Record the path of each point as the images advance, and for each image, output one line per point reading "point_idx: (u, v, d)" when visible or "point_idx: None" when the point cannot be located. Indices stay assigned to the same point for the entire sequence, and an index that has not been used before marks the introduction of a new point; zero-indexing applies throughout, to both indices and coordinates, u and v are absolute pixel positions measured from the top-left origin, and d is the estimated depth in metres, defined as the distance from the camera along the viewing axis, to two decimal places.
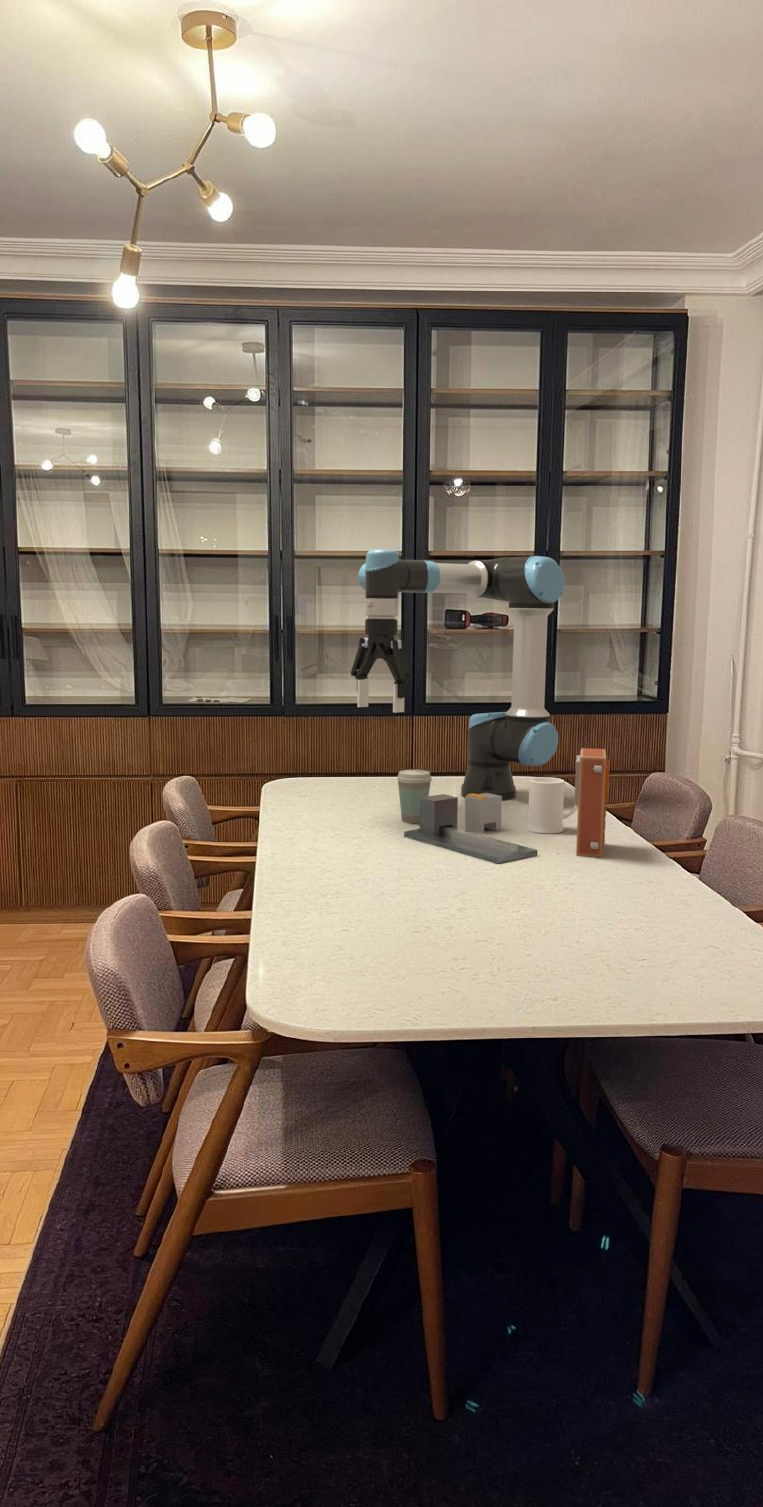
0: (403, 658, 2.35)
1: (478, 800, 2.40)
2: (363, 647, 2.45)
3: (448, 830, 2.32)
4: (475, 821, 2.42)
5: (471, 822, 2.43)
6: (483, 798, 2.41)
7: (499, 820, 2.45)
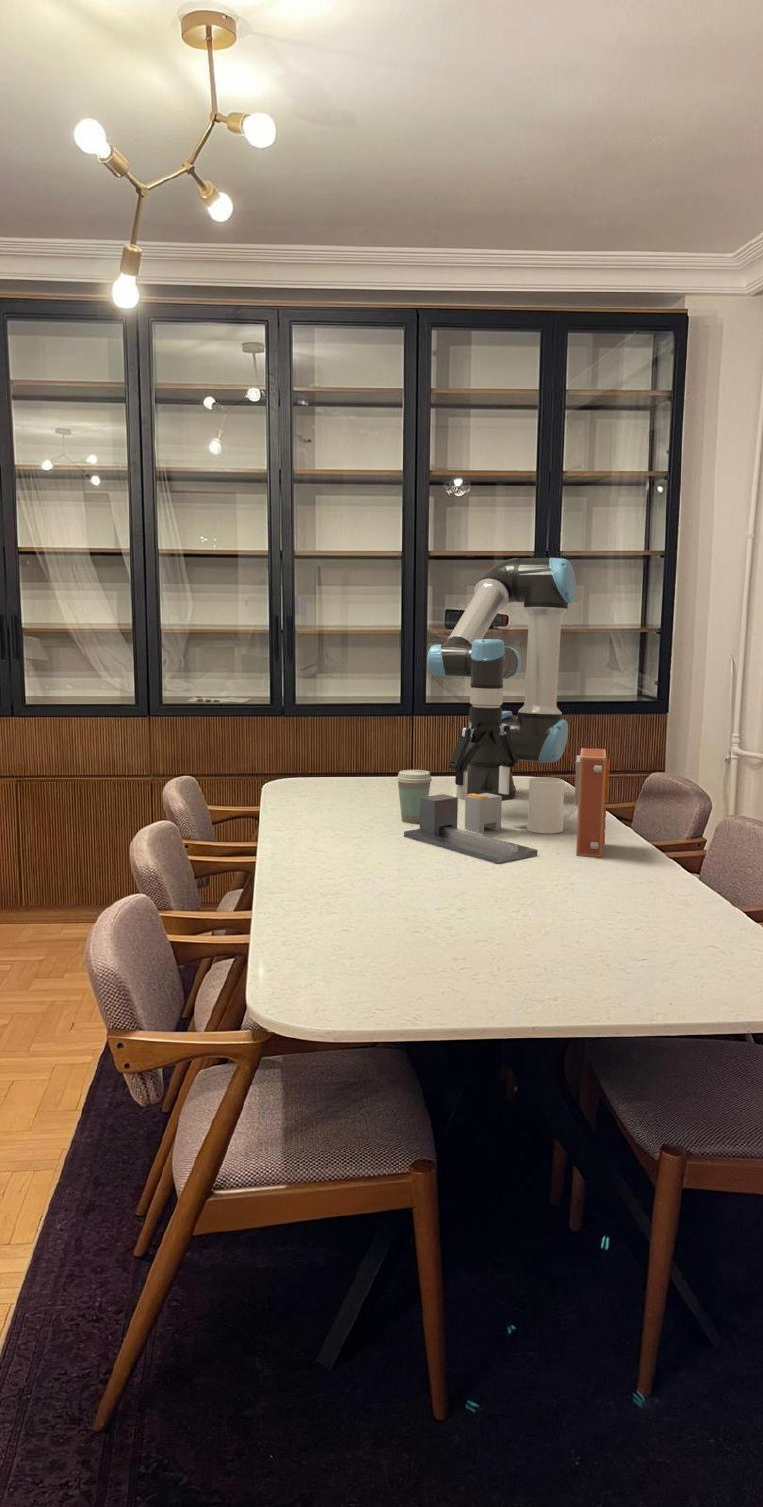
0: (460, 746, 2.37)
1: (478, 800, 2.40)
2: (500, 734, 2.46)
3: (448, 830, 2.32)
4: (475, 821, 2.42)
5: (471, 822, 2.43)
6: (483, 798, 2.41)
7: (499, 820, 2.45)
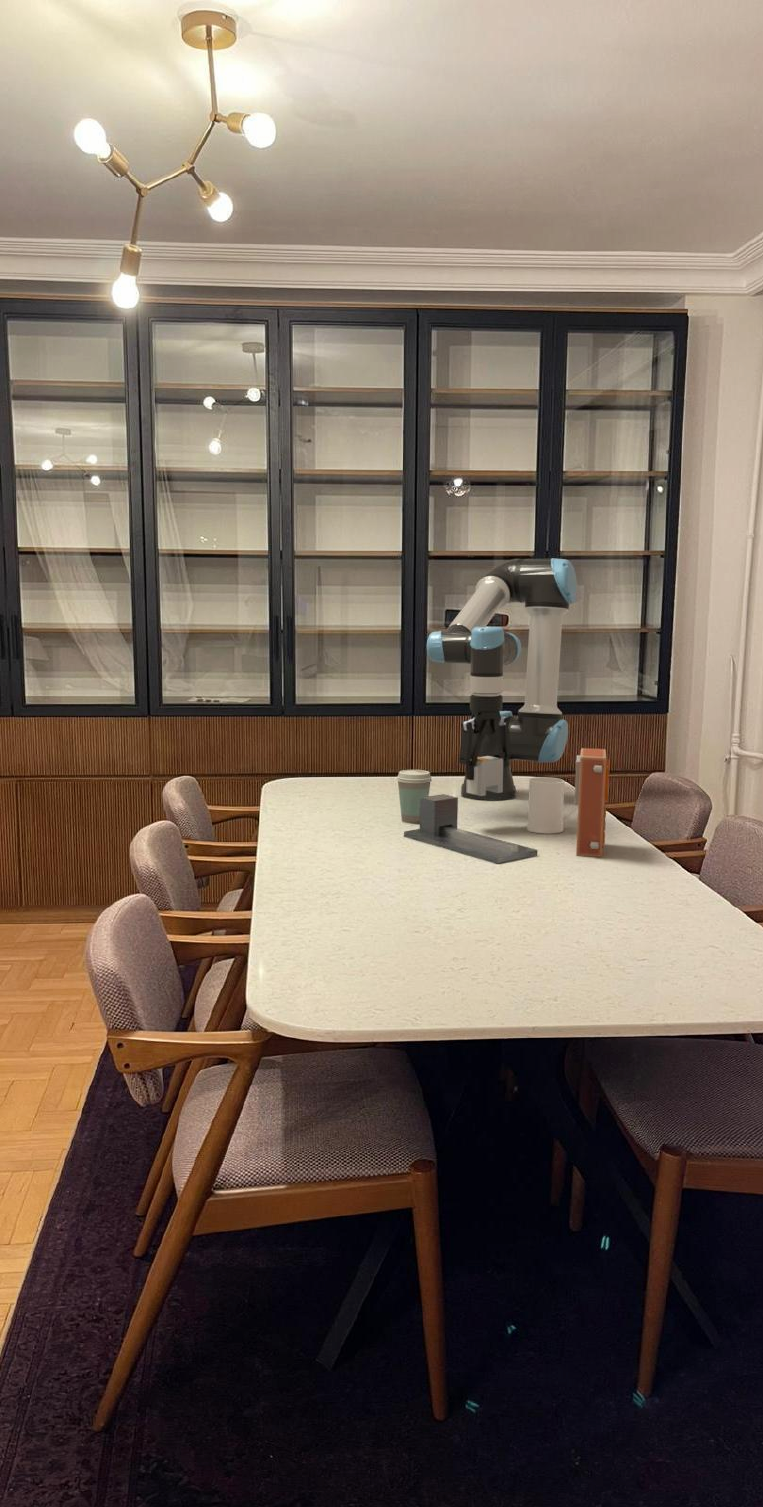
0: (465, 741, 2.38)
1: (479, 763, 2.39)
2: (499, 725, 2.45)
3: (448, 830, 2.32)
4: None
5: None
6: (484, 761, 2.40)
7: (501, 783, 2.44)
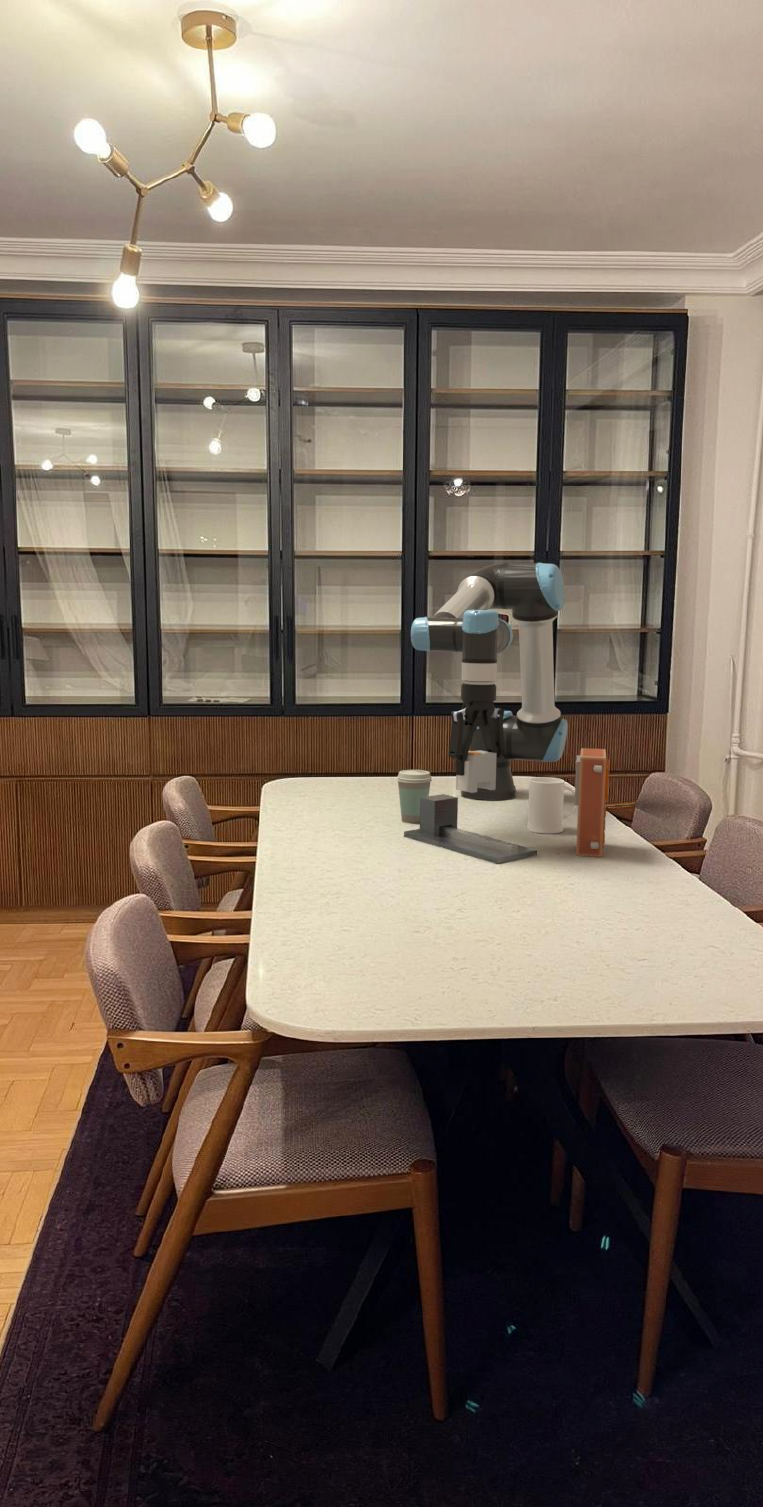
0: (455, 733, 2.19)
1: (471, 756, 2.21)
2: (492, 717, 2.27)
3: (448, 830, 2.32)
4: None
5: None
6: (476, 754, 2.21)
7: (494, 779, 2.25)
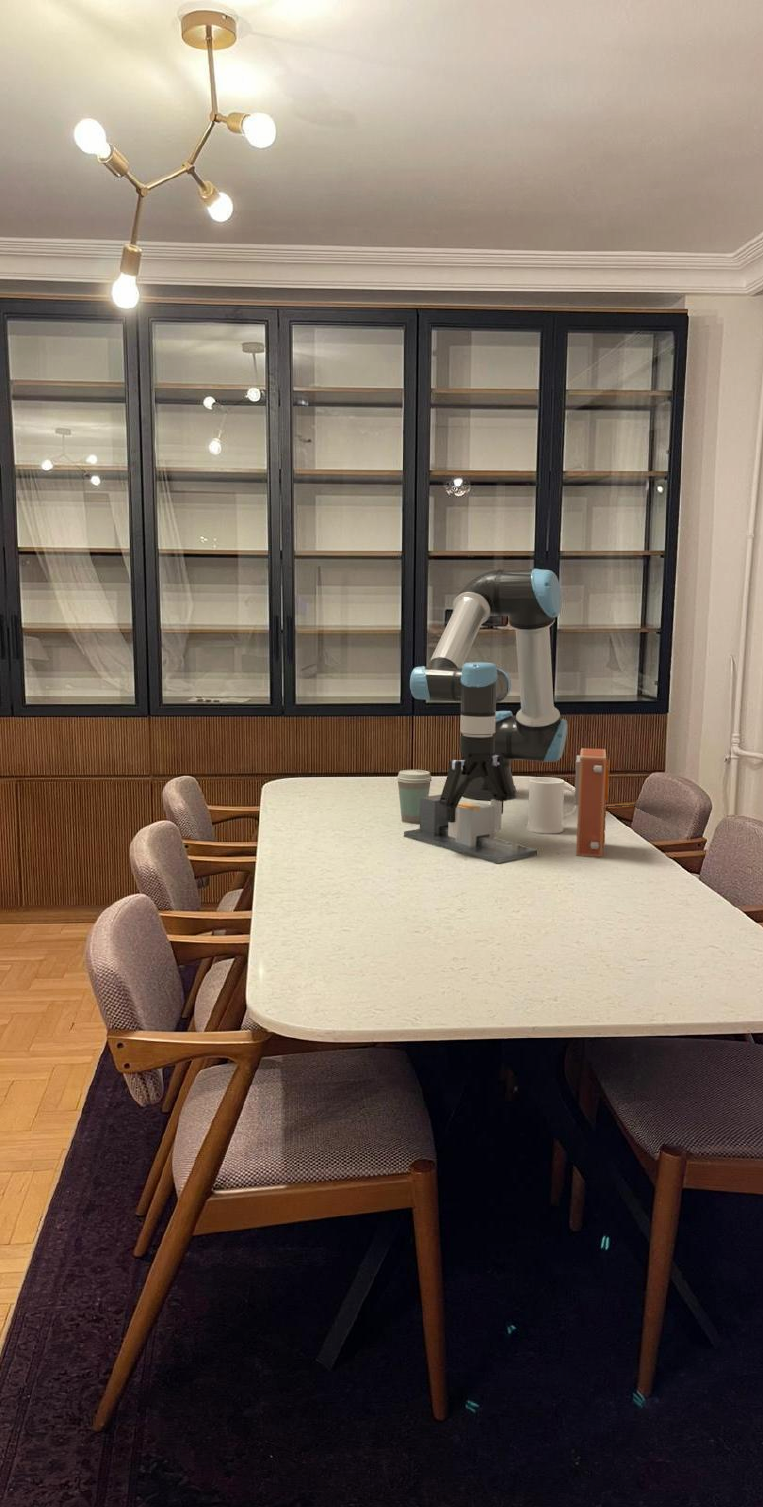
0: (450, 780, 2.20)
1: (470, 810, 2.22)
2: (493, 765, 2.29)
3: None
4: (466, 833, 2.24)
5: (462, 834, 2.25)
6: (475, 808, 2.23)
7: (492, 832, 2.27)
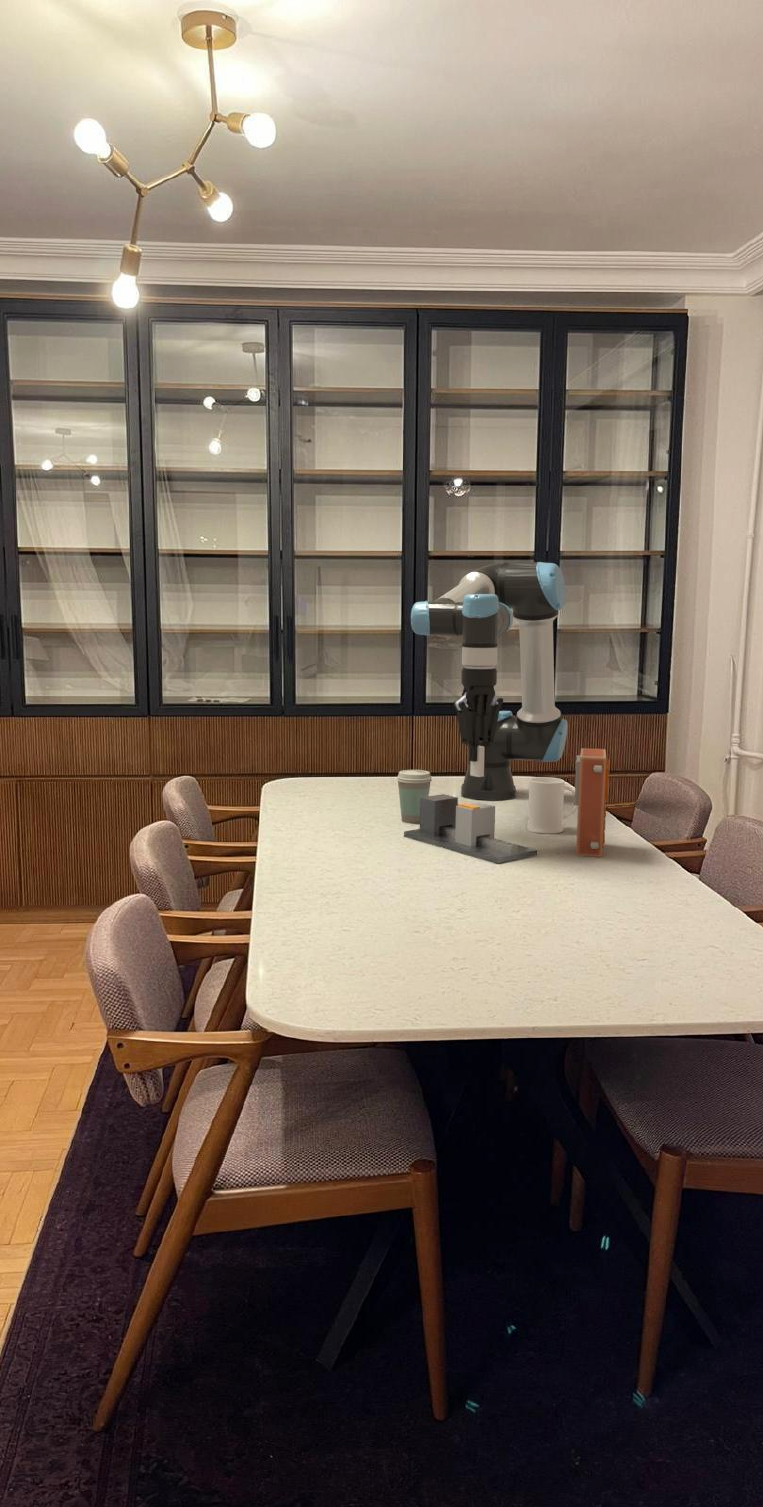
0: (462, 721, 2.20)
1: (470, 810, 2.22)
2: (490, 705, 2.26)
3: (448, 830, 2.32)
4: (466, 833, 2.24)
5: (462, 834, 2.25)
6: (475, 808, 2.23)
7: (492, 832, 2.27)
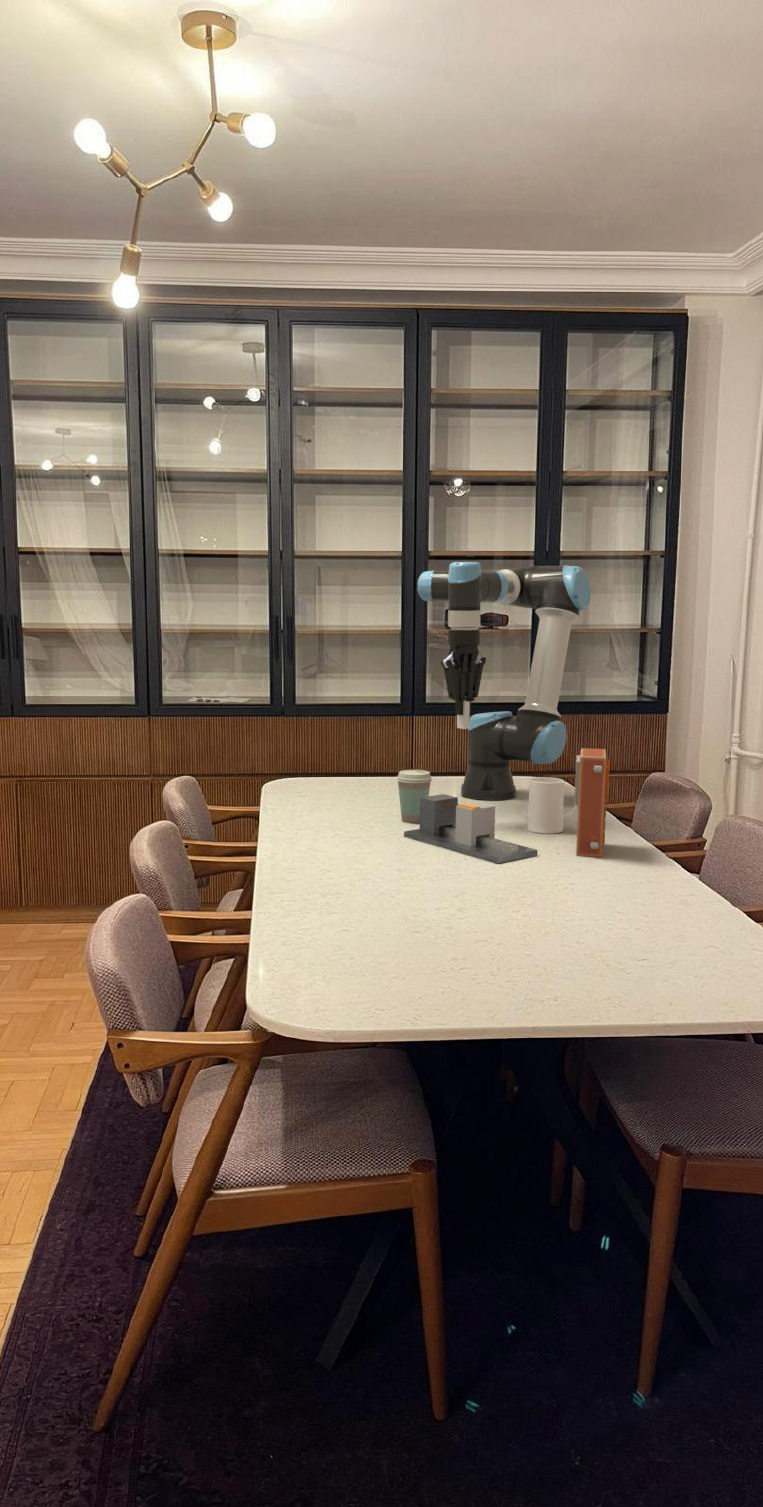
0: (449, 678, 2.42)
1: (470, 810, 2.22)
2: (474, 663, 2.48)
3: (448, 830, 2.32)
4: (466, 833, 2.24)
5: (462, 834, 2.25)
6: (475, 808, 2.23)
7: (492, 832, 2.27)
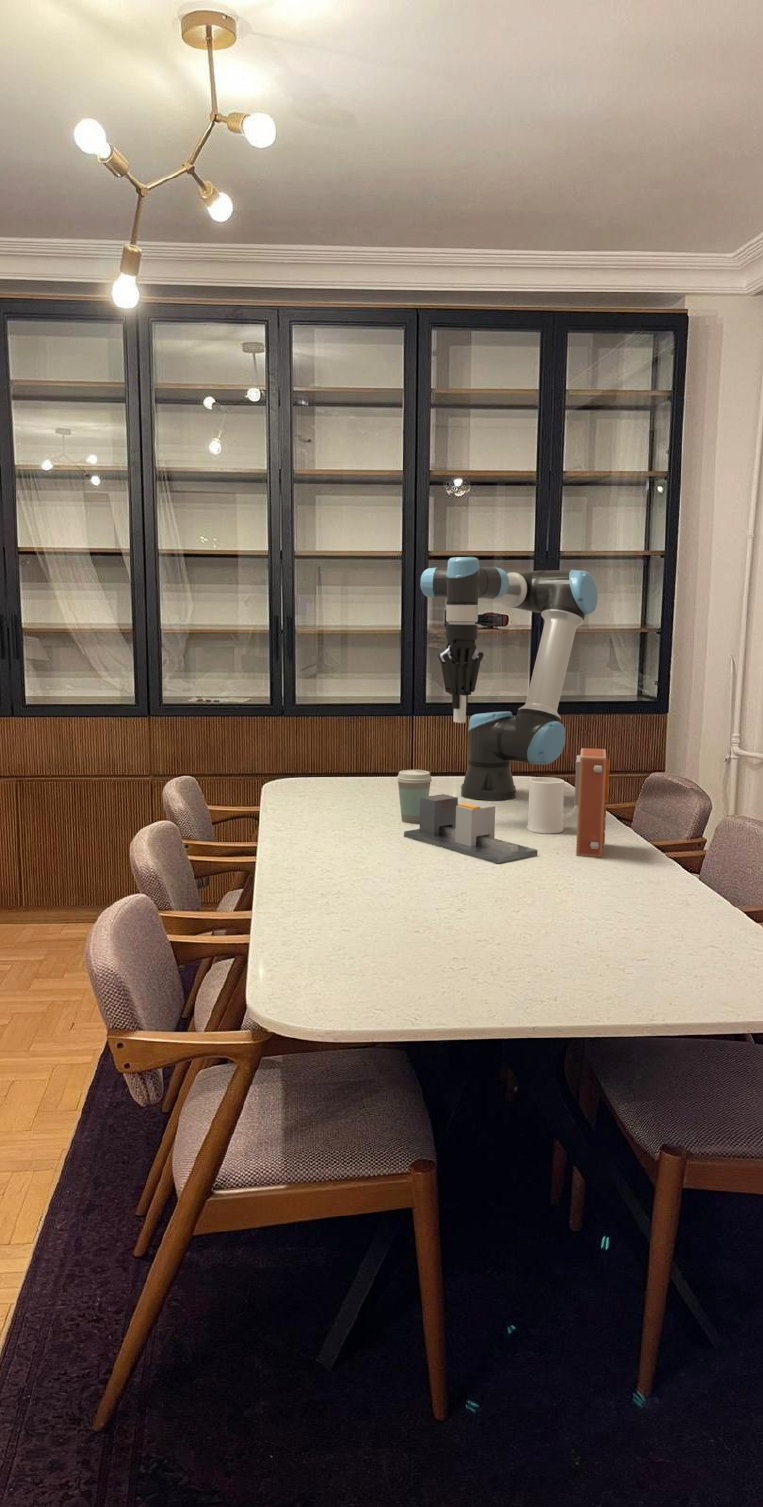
0: (446, 672, 2.45)
1: (470, 810, 2.22)
2: (472, 658, 2.51)
3: (448, 830, 2.32)
4: (466, 833, 2.24)
5: (462, 834, 2.25)
6: (475, 808, 2.23)
7: (492, 832, 2.27)
